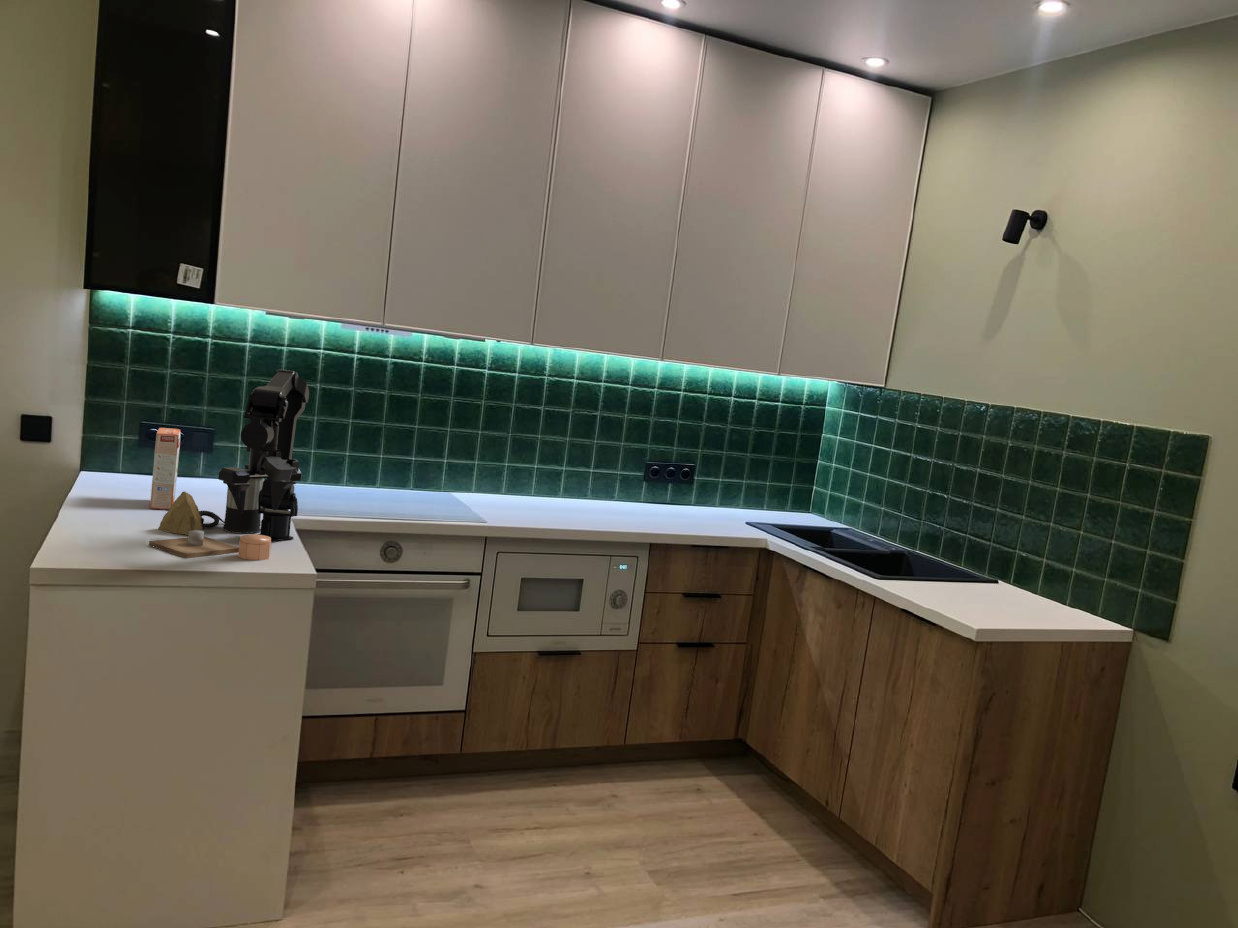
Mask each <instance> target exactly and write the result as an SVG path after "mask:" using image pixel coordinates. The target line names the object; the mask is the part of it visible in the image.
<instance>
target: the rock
mask: <svg viewBox="0 0 1238 928" xmlns="http://www.w3.org/2000/svg"><path fill="white" fill-rule="evenodd" d="M199 511H200V510H199V507H198V505H197V504H196V502H195V500H194V498H193V496H192V495H191V494H190V493H189V492H186V491H182V492H181V493H180V495H178V497H177V498H176V499H174V503H173V505H172V506H171V507H170V509H169V510H167V512H166V513H165V514H164V515H163V518H162V519H161V521H160V523H159V526H158V528H157V530H159V531H160V530H161V531H164V532H166V531H167V533H171V532H172V534H177V533H178V535H183V534H185V536H186V535H187V536H189V531H192V530H198V531H203V528H202V524H201V516H200V514H199Z"/></svg>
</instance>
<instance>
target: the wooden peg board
mask: <svg viewBox="0 0 1238 928" xmlns="http://www.w3.org/2000/svg"><path fill="white" fill-rule="evenodd" d="M149 545H151V546H150V547H152V546H154V547H153V548H155V547H157V548H156V549H158V548H160V549H159V550H161V549H162V550H161V551H164V550H165V551H164V552H167V553H170V554H173V555H176V556H179V557H182V558H184V559H191V558H200V557H210V556H218V555H225V554H235V553H239V546H237V545H234V544H230V543H227V542H223V541H221V540H218V539H213V538H212V537H211V538H210V537H209V536H205V531H203V530H202V531H198V530H192V531H189V535H188V536H187V537H178V538H170V539H169V538H167V539H166V538H165V539H157V540H149V542H148V546H149Z"/></svg>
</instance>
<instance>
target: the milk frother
mask: <svg viewBox="0 0 1238 928" xmlns="http://www.w3.org/2000/svg"><path fill="white" fill-rule="evenodd" d="M255 475H256V474H255ZM257 475H258V474H257ZM264 480H265V478H257V479H250V480H249V481H248V482H247V483H246V484H249V485H250V486H249V487H248V489H247V490H246V495H245V506H244V511H243V513H240V512H239V511H238V509H237V506H236V503H235V501H234V498H233V496H232V494H231V492H230V490H229V488H228V487H227V492H226V503H225V514H224V520H223V519H222V518H221V517H220V516H219V515H218V514H215V512H212V511H210V510H199V514H200V516H201V524H202V529H212V528H215V527H217V526H218V525H219V523H220V522H221V523H223V526H222V530H223V531H226V532H228V533H234V534H244V535H248V534H258V533H260V530H261V520H262V519H261V515H262V514H258V497H259V492H260V490H262V486H263V481H264ZM203 516H205V517H209V518H211V519H213V522H209V523H205V522H204V521H205V519H204V517H203Z"/></svg>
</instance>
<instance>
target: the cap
mask: <svg viewBox="0 0 1238 928" xmlns="http://www.w3.org/2000/svg"><path fill="white" fill-rule="evenodd" d="M238 545H239V546H238V547H239V552H237V553H238V555H237V557H238V558H240V559H244V560H250V561H251V560H252V561H263V560H269V559H270V557H271V547H272V541H271V537H269V536H265V535H257V533H250V534H249V533H248V534H244V535H242V534H241V535H240V538H239V543H238Z"/></svg>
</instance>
